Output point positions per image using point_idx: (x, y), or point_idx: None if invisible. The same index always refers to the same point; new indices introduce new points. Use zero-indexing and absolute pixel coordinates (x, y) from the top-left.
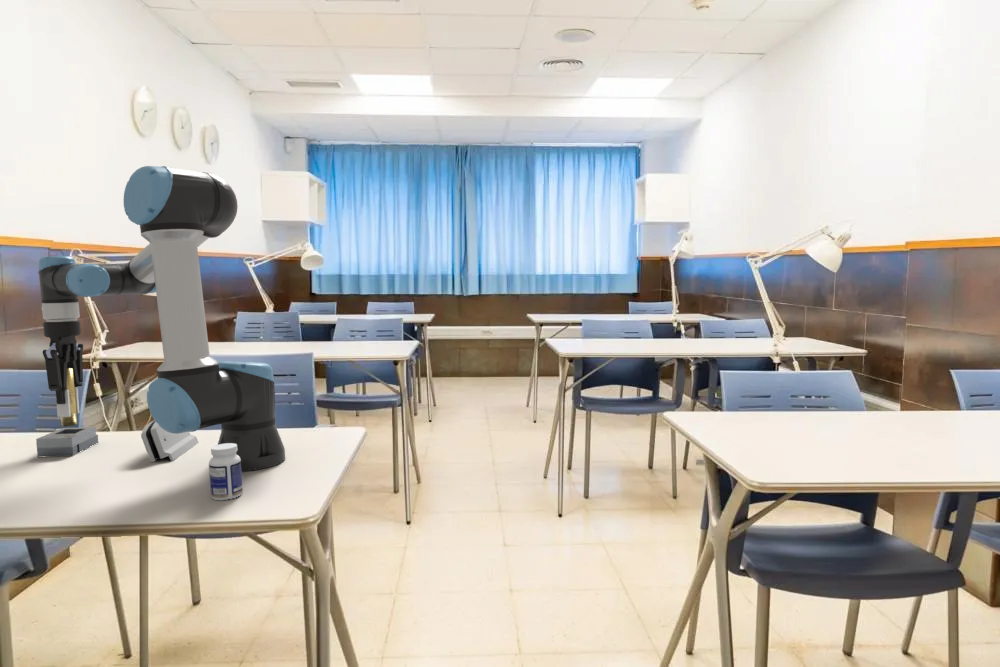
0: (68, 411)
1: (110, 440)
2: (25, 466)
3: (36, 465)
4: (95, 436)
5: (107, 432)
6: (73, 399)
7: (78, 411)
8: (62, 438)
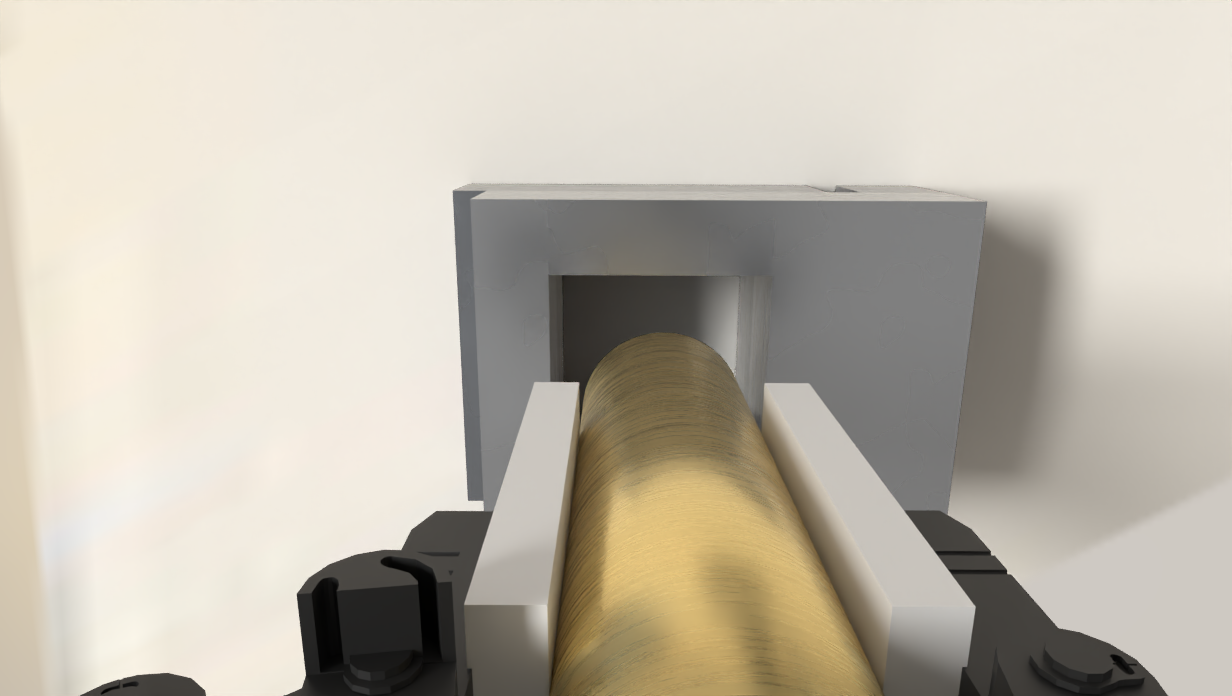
0: (829, 415)
1: (366, 114)
2: (1152, 412)
3: (1147, 342)
4: (503, 189)
5: (49, 307)
6: (724, 465)
7: (561, 389)
8: (970, 299)
